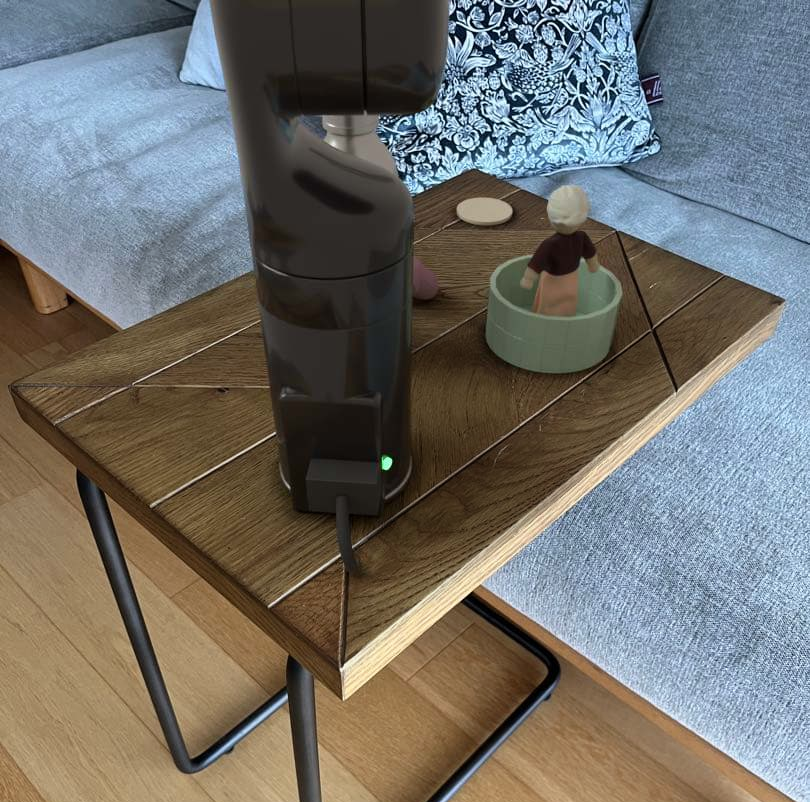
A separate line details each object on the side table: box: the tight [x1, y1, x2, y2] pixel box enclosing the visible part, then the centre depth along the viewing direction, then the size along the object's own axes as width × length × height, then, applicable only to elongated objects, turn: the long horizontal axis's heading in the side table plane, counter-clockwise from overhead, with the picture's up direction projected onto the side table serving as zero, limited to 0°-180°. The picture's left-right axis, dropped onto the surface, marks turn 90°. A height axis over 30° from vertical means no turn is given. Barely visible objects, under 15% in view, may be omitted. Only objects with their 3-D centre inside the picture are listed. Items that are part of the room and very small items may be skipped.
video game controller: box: [413, 256, 439, 301], centre depth 73 cm, size 10×5×7 cm, turn 62°
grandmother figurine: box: [520, 184, 601, 317], centre depth 66 cm, size 8×4×13 cm, turn 131°
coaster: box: [456, 197, 514, 226], centre depth 87 cm, size 6×6×1 cm
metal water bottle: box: [321, 111, 400, 178], centre depth 62 cm, size 6×7×20 cm
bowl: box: [485, 254, 624, 374], centre depth 69 cm, size 11×11×5 cm
